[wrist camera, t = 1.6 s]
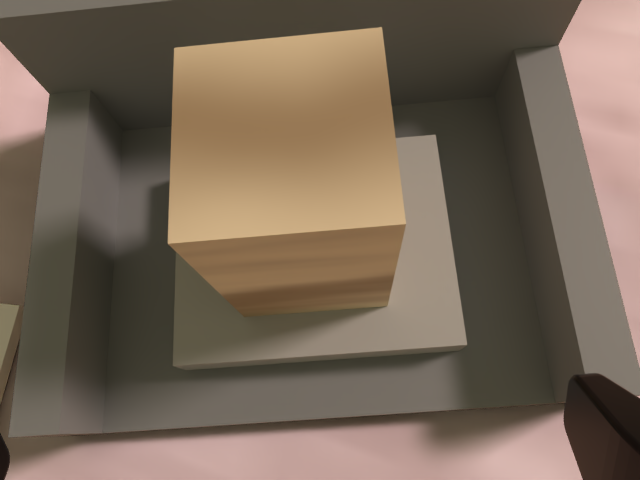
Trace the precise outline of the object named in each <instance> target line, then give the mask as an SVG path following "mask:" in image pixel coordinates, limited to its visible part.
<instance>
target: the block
mask: <svg viewBox="0 0 640 480" xmlns="http://www.w3.org/2000/svg"><path fill="white" fill-rule="evenodd" d="M405 227H406V219H405V211H404V203H403V194H402V186H401V178H400V170H399V162H398V154H397V146H396V137H395V129H394V121H393V113H392V105H391V97H390V88H389V80H388V72H387V64H386V56H385V48H384V40H383V31H382V27H378V28H368V29H358V30H348V31H338V32H328V33H318V34H308V35H298V36H288V37H278V38H267V39H257V40H247V41H237V42H227V43H217V44H207V45H197V46H187V47H177V48H174V68H173V98H172V129H171V159H170V189H169V220H168V245H170V246H171V247H172V248H173V249H174V250H175V251H176V252H177V253H178V254H179V255H180V256H181V257H182V258H183V259H184V260H185V261H186V262H187V263H188V264H189V265H190V266H191V267H193V268H194V269H195V270H196V271H197V272H198V273H199V274H200V275H201V276H202V277H203V278H204V279H205V280H206V281H207V282H208V283H209V284H210V285H211V286H212V287H213V288H214V289H216V290H217V291H218V292H219V293H220V294H221V295H222V296H223V297H224V298H225V299H226V300H227V301H228V302H229V303H230V304H231V305H232V306H233V307H234V308H235V309H236V310H237V311H238V312H240V313H241V314H242V315H243V316H244V317H252V316H265V315H278V314H291V313H304V312H318V311H331V310H344V309H357V308H370V307H384V306H388V302H389V298H390V293H391V289H392V285H393V280H394V276H395V271H396V267H397V262H398V258H399V254H400V249H401V245H402V240H403V236H404V231H405Z"/></svg>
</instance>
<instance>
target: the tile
mask: <svg viewBox="0 0 640 480" xmlns="http://www.w3.org/2000/svg"><path fill="white" fill-rule="evenodd" d="M23 311H24V307H23V306H20V305H12V304H2V303H0V404H1V401H2V398H3V394H4V391H5V387H6V384H7V380H8V377H9V373H10V370H11V366H12V363H13V359H14V356H15V352H16V349H17V346H18V342H19V339H20V335H21V327H22V319H23Z"/></svg>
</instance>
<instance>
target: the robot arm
mask: <svg viewBox="0 0 640 480" xmlns="http://www.w3.org/2000/svg"><path fill="white" fill-rule="evenodd" d="M564 426H565V430H566V433H567V436H568V439H569V442H570V445H571V447H572V450H573V453H574V456H575V459H576V461H577V464H578V467H579V470H580V473H581V476H582V478H583V480H640V398H639V397H637V396H636V395H634V394H632V393H631V392H629V391H628V390H626V389H624V388H623V387H621V386H620V385H618V384H616V383H615V382H613V381H612V380H610V379H609V378H607V377H605V376H604V375H602V374H599V373H588V374H575V375H573V376H571V377H570V379H569V381H568V387H567V394H566V401H565V409H564ZM9 463H10V455H9V451H8V448H7V446H6V444H5V442H4V440H3V438H2V436H1V434H0V480H4V479H5V477H6V474H7V471H8V468H9Z"/></svg>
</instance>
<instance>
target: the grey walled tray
mask: <svg viewBox="0 0 640 480" xmlns="http://www.w3.org/2000/svg"><path fill="white" fill-rule="evenodd" d="M580 2H581V0H0V41H1V42H2V43H3V44H4V45H5V47H6V48H7V49H8V50H9V51H10V52H11V53H12V54H13V55H14V56H15V57H16V58H17V59H18V61H19V62H20V63H21V64H22V65H23V66H24V67H25V68H26V69H27V70H28V71H29V72H30V73H31V74H32V76H33V77H34V78H35V79H36V80H37V81H38V82H39V83H40V84H41V85H42V86H43V87H44V88H45V90H46V91H47V92H48V93H49V94H50V96H49V104H48V112H47V120H46V129H45V137H44V145H43V154H42V162H41V170H40V178H39V187H38V195H37V203H36V211H35V220H34V228H33V236H32V245H31V253H30V261H29V269H28V278H27V286H26V294H25V302H24V311H23V319H22V327H21V336H20V344H19V352H18V360H17V369H16V377H15V385H14V393H13V402H12V410H11V418H10V427H9V435H8V437H45V436H77V435H92V434H107V433H122V432H137V431H152V430H167V429H182V428H197V427H212V426H227V425H242V424H257V423H272V422H287V421H302V420H317V419H332V418H347V417H362V416H377V415H392V414H407V413H422V412H437V411H452V410H467V409H482V408H497V407H512V406H527V405H542V404H557V403H565V401H566V394H567V387H568V381H569V379H570V377H571V376H573V375H575V374H588V373H599V374H602V375H604V376H605V377H607V378H609V379H610V380H612V381H613V382H615V383H616V384H618V385H620V386H621V387H623V388H624V389H626V390H628V391H629V392H631V393H632V394H634V395H636V396H640V368H639V364H638V360H637V356H636V352H635V348H634V344H633V340H632V336H631V332H630V328H629V324H628V320H627V316H626V312H625V308H624V305H623V301H622V297H621V293H620V289H619V285H618V281H617V277H616V273H615V269H614V265H613V261H612V257H611V253H610V249H609V245H608V241H607V237H606V233H605V229H604V225H603V221H602V217H601V213H600V209H599V205H598V201H597V197H596V193H595V189H594V185H593V181H592V177H591V173H590V169H589V165H588V162H587V158H586V154H585V150H584V146H583V142H582V138H581V134H580V130H579V126H578V122H577V118H576V114H575V110H574V106H573V102H572V98H571V94H570V90H569V86H568V82H567V78H566V74H565V70H564V66H563V62H562V58H561V54H560V50H559V46H558V45H559V43H560V41H561V39H562V37H563V35H564V33H565V31H566V29H567V27H568V25H569V23H570V21H571V19H572V18H573V16H574V14H575V12H576V10H577V8H578V6H579V4H580ZM378 27H382V31H383V40H384V48H385V56H386V64H387V72H388V80H389V88H390V97H391V105H392V113H393V121H394V129H395V137H396V146H397V154H398V162H399V170H400V178H401V186H402V194H403V203H404V211H405V219H406V227H405V231H404V236H403V240H402V245H401V249H400V254H399V258H398V262H397V267H396V271H395V276H394V280H393V285H392V289H391V293H390V298H389V302H388V306H384V307H370V308H357V309H344V310H331V311H318V312H304V313H291V314H278V315H265V316H252V317H244V316H243V315H242V314H241V313H240V312H238V311H237V310H236V309H235V308H234V307H233V306H232V305H231V304H230V303H229V302H228V301H227V300H226V299H225V298H224V297H223V296H222V295H221V294H220V293H219V292H218V291H217V290H216V289H214V288H213V287H212V286H211V285H210V284H209V283H208V282H207V281H206V280H205V279H204V278H203V277H202V276H201V275H200V274H199V273H198V272H197V271H196V270H195V269H194V268H193V267H191V266H190V265H189V264H188V263H187V262H186V261H185V260H184V259H183V258H182V257H181V256H180V255H179V254H178V253H177V252H176V251H175V250H174V249H173V248H172V247H171V246H170V245H168V220H169V189H170V159H171V129H172V98H173V68H174V48H177V47H187V46H197V45H207V44H217V43H227V42H237V41H247V40H257V39H267V38H278V37H288V36H298V35H308V34H318V33H328V32H338V31H348V30H358V29H368V28H378Z"/></svg>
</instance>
